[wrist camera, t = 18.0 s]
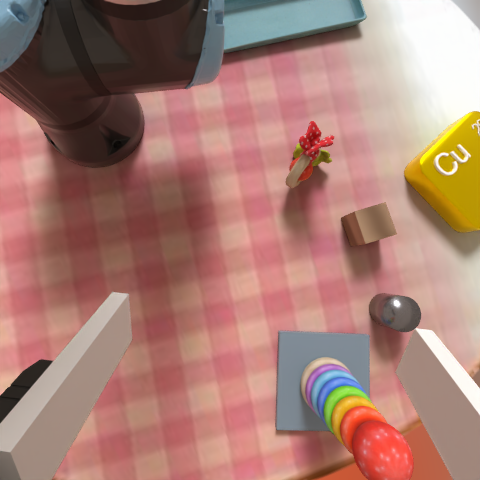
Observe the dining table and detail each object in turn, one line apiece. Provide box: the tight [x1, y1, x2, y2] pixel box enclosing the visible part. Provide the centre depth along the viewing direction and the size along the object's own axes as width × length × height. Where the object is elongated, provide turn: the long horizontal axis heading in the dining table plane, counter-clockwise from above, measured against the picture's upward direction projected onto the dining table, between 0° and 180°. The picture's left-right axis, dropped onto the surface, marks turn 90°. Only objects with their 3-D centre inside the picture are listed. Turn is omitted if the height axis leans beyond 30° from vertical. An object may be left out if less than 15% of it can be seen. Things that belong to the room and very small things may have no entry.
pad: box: [276, 331, 370, 431], centre depth 42 cm, size 14×14×1 cm
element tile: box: [404, 111, 480, 233], centre depth 46 cm, size 15×15×5 cm
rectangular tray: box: [223, 0, 367, 53], centre depth 48 cm, size 26×9×2 cm, turn 105°
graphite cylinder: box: [369, 293, 421, 332], centre depth 42 cm, size 5×5×5 cm
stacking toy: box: [301, 357, 414, 480], centre depth 33 cm, size 8×8×19 cm
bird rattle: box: [286, 121, 334, 188], centre depth 42 cm, size 6×11×9 cm
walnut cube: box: [341, 202, 397, 247], centre depth 43 cm, size 5×5×5 cm
